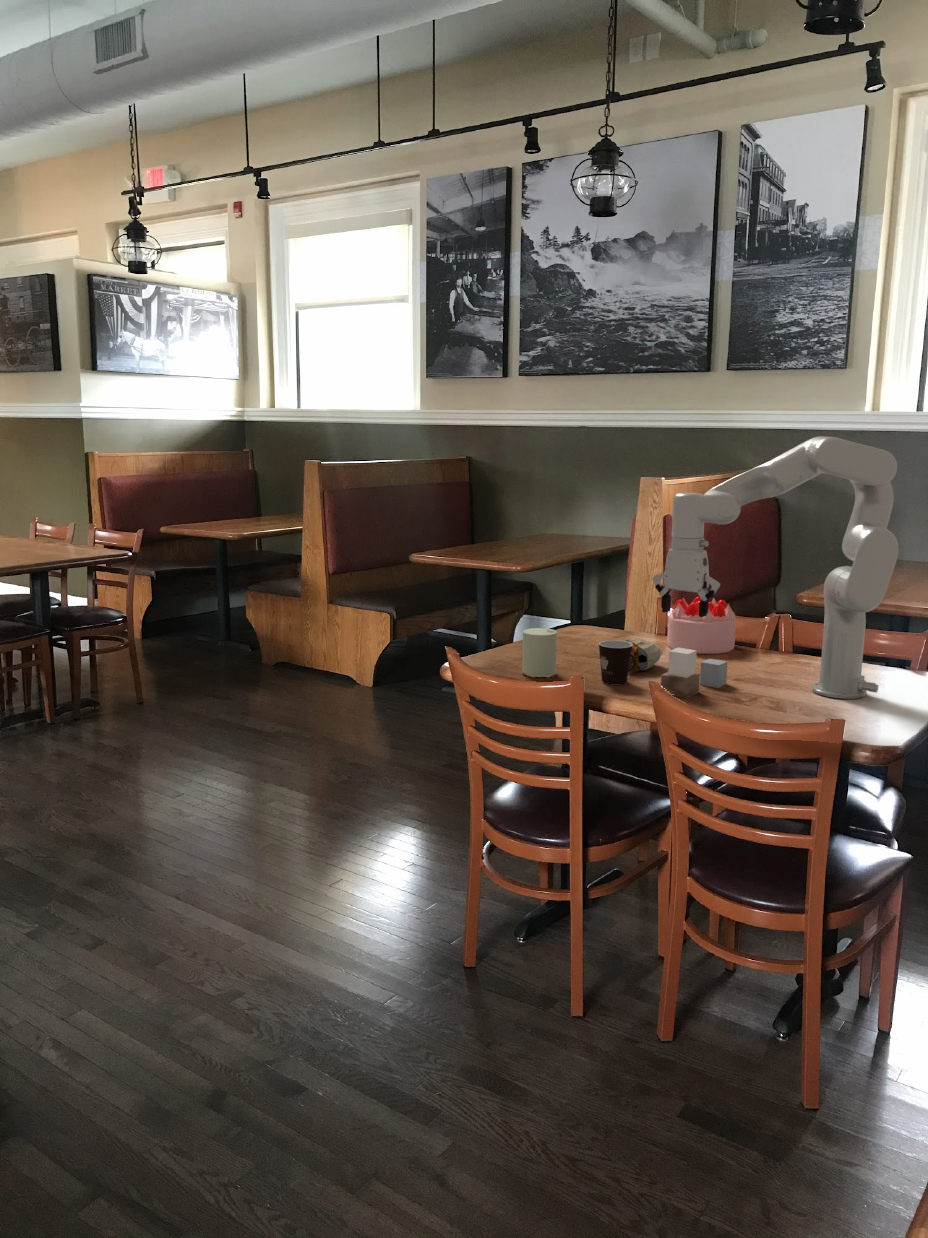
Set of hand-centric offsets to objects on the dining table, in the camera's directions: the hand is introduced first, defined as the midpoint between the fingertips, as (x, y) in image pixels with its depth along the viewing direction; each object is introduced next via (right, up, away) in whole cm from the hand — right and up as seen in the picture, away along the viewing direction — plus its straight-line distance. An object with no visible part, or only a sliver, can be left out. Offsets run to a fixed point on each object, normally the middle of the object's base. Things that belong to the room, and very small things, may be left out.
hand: (684, 613), depth 237 cm
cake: (+17, -10, +54) cm, 57 cm away
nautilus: (-8, -15, +27) cm, 32 cm away
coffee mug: (-15, -18, +13) cm, 27 cm away
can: (-34, -16, +22) cm, 44 cm away
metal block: (0, -20, +4) cm, 20 cm away
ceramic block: (0, -15, +3) cm, 15 cm away
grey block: (+10, -18, +12) cm, 24 cm away
